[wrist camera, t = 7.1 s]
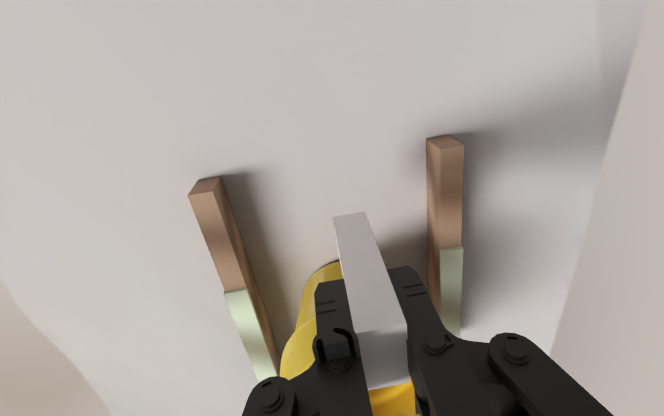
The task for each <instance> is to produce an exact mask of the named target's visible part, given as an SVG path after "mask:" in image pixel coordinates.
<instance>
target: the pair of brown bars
mask: <svg viewBox="0 0 664 416" xmlns="http://www.w3.org/2000/svg"><path fill="white" fill-rule="evenodd" d="M464 146H465V145H463V144H462V143H460V142H459V141H457V140H455V139H454V138H452V137H450V136H449V135H443V136H438V137H432V138H427V139H426V166H427V216H428V266H429V297H430V299H431V301H432V303H433V305H434V307H435V309H436V311H437V313H438V315H439V317H440V319H441V321H442V323H443V325H444V326H445V328H446V329H447V330H448V331H449V332H451V333H452V334H453V335H454V336H456V337H458V338H460V325H461V300H462V275H463V250H464V248H463V247H462V246H461V231H462V202H463V174H464ZM188 198H189V200H190V203H191V205H192V208H193V211H194V213H195V216H196V218H197V221H198V223H199V226H200V228H201V231H202V233H203V236H204V239H205V241H206V244H207V246H208V249H209V251H210V254H211V256H212V259H213V262H214V264H215V267H216V269H217V272H218V274H219V277H220V279H221V282H222V284H223V287H224V290H225V291H224V296H225V299H226V301H227V304H228V306H229V309H230V311H231V314H232V316H233V319H234V321H235V324H236V327H237V329H238V332H239V334H240V337H241V339H242V342H243V344H244V347H245V349H246V352H247V354H248V357H249V359H250V362H251V364H252V367H253V369H254V372H255V374H256V377H257V379H258V382H259V383H260V382H261V381H263V380H265V379H266V378H268V377H274V376H280V366H281V357H280V354H279V351H278V348H277V345H276V342H275V339H274V336H273V333H272V330H271V327H270V324H269V321H268V318H267V315H266V312H265V309H264V306H263V303H262V300H261V297H260V294H259V291H258V288H257V285H256V282H255V279H254V276H253V273H252V270H251V267H250V264H249V261H248V258H247V255H246V251H245V248H244V245H243V242H242V239H241V236H240V233H239V230H238V227H237V224H236V221H235V218H234V215H233V212H232V209H231V206H230V203H229V200H228V197H227V194H226V191H225V188H224V185H223V182H222V179H221V176H217V177H212V178H206V179H201V180H198V181H197V182H196V184H195V185H194V187H193V188H192V190H191V191H190V193H189V195H188Z"/></svg>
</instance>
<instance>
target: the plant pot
mask: <svg viewBox="0 0 664 416" xmlns="http://www.w3.org/2000/svg"><path fill="white" fill-rule="evenodd" d="M337 279H343V275H342V269H341V264H340V261H339V262H334V263H331V264H328V265H326V266H324V267H322V268H320V269H319V270H318V271H316V272H315V273H314V274H313V275H312V276H311V277H310V279H309V280H308V282H307V283H306V286H305V288H304V292H303V297H302V302H301V306H300V311H299V315H298V320H297V324H296V329H295V332H294V333H293V334H292V336H291V337H290V339H289V340H288V342H287V344H286V346H285V348H284V351H283V354H282V358H281V366H280V377H284V378H286V379H287V380H290V379H292V378H294V377H296V376H298V375H300V374H301V373H303V372H304V371H306V370H307V369H308V368H309V367H310V366H311V365H312V364H313V362H314V361H315V358H314V354H313V350H312V343H313V339H314V337H315V336H316V334H317V329H316V313H315V300H314V292H315V290H316V288H317V285H318V283H321V282H326V281H332V280H337ZM368 393H369V398H370V403H371V408H372V413H373V416H420V414H416V411H415V394H414V386H413V383H412V380H411V377H410V383H405V384H400V385H394V386H389V387H383V388H378V389H373V390H368Z"/></svg>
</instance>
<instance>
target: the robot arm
mask: <svg viewBox="0 0 664 416" xmlns="http://www.w3.org/2000/svg"><path fill="white" fill-rule="evenodd" d="M333 224H334V229H335V235H336V241H337V247H338V252H339V258H340V264H341V269H342V275H343V279H337V280H332V281H326V282H321V283H318V285H317V288H316V290H315V292H314V300H315V313H316V329H317V334H316V336H315V337H314V339H313V343H312V350H313V354H314V358H315V361H314V362H313V364H312V365H311V366H310V367H309V368H308V369H307V370H306V371H304V372H303V373H301V374H300V375H298V376H296V377H294V378H292V379H290V380H287V379H286V378H284V377H280V376H274V377H268V378H266V379H265V380H263V381H261V382H260V383H258V384H257V385H256V386H255V387H254V388H253V390H252V392H251V394H250V395H249V397H248V400H247V403H246V406H245V408H244V411H243V414H242V416H373V413H372V408H371V403H370V398H369V393H368V390H373V389H378V388H383V387H389V386H394V385H400V384H405V383H410V377H411V380H412V383H413V386H414V394H415V411H416V414H420V416H613V415H612V414H611V413H610V412H609V411H608V410H607V409H606V408H605V407H604V406H602V405H601V404H600V403H599V402H598V401H597V400H596V399H595V398H593V396H591V395H590V394H589V393H588V392H587V391H586V390H585V389H584V388H583V387H581V385H579V384H578V383H577V382H576V381H575V380H574V379H573V378H572V377H571V376H569V375H568V374H567V373H566V372H565V371H564V370H563V369H562V368H561V367H560V366H559V365H558V364H556V363H555V362H554V361H553V360H552V359H551V358H550V357H549V356H548V355H547V354H545V353H544V352H543V351H542V350H541V349H540V348H539V347H538V346H537V345H536V344H534V343H533V342H532V341H530V340H529V339H527V338H526V337H524V336H521V335H518V334H515V333H501V334H497V335H496V336H494V337H493V338H492V339H491V341H490V343H483V342H473V341H467V340H463V339H461V338H458V337H456V336H454V335H453V334H452V333H451V332H449V331H448V330H447V329H446V328H445V326H444V325H443V323H442V321H441V319H440V317H439V315H438V313H437V311H436V309H435V307H434V305H433V303H432V301H431V299H430V297H429V295H428V294H427V291H426V289H425V287H424V286H423V283H422V281H421V279H420V277H419V275H418V273H417V272H415V271H414V270H413V269H412V268H410V267H409V266H404V267H399V268H393V269H388V270H386V267H385V264H384V262H383V259H382V256H381V254H380V251H379V248H378V246H377V243H376V240H375V238H374V235H373V232H372V230H371V227H370V224H369V222H368V219H367V216H366V214H365V212H361V213H355V214H350V215H344V216H339V217H333Z"/></svg>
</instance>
